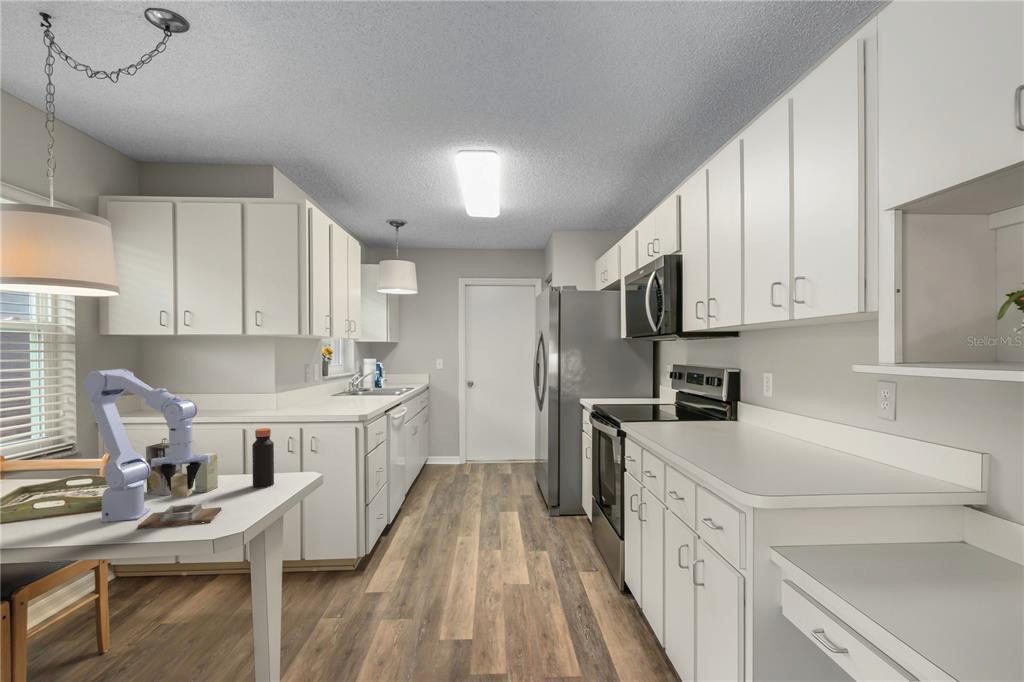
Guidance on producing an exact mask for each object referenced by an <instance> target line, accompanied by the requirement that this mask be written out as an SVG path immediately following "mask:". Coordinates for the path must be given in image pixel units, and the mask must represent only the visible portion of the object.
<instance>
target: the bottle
mask: <svg viewBox="0 0 1024 682" xmlns="http://www.w3.org/2000/svg"><path fill="white" fill-rule="evenodd" d="M271 431H272V430H271V428H269V427H268V428H267V427H266V428H265V427H264V428H257V429H255V431H254V432H255V433H254V435H255V439H256V440H255V441H253V443H252V446H251V447H252V449H251V450H252V451H251V452H252V454H251V455H252V487H253V488H255V487H265V488H269V487H272V486H273V485H274V484H275V461H274V459H275V458H274V457H275V455H274V454H275V451H274V448H275V446H274V445H275V442H274V441H272V439H270V437H271V434H272V433H271ZM271 485H272V486H271ZM268 486H269V487H268Z"/></svg>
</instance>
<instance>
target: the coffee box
mask: <svg viewBox="0 0 1024 682" xmlns="http://www.w3.org/2000/svg"><path fill="white" fill-rule="evenodd" d="M163 457H169V442H167V443H166V442H161V443H154V444H151V445H148V446H145V458H146V459H145V461H146V462H147V463H148V464H149V466H150V469H151V472H150V476H149V477H148V478H147V479H146V494H147V495H148V494H149V495H156V496H157V495H158V496H164V497H165V496H171V491H170V489H169V486H168V483H167V480H166V478H165V477H164V475H163V474H162V472H161V471H160V468H161V467H162V465H160V466H153V467H151V460H152V459H154V458H163ZM179 473H183V464H176V470H175V474H179Z"/></svg>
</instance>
